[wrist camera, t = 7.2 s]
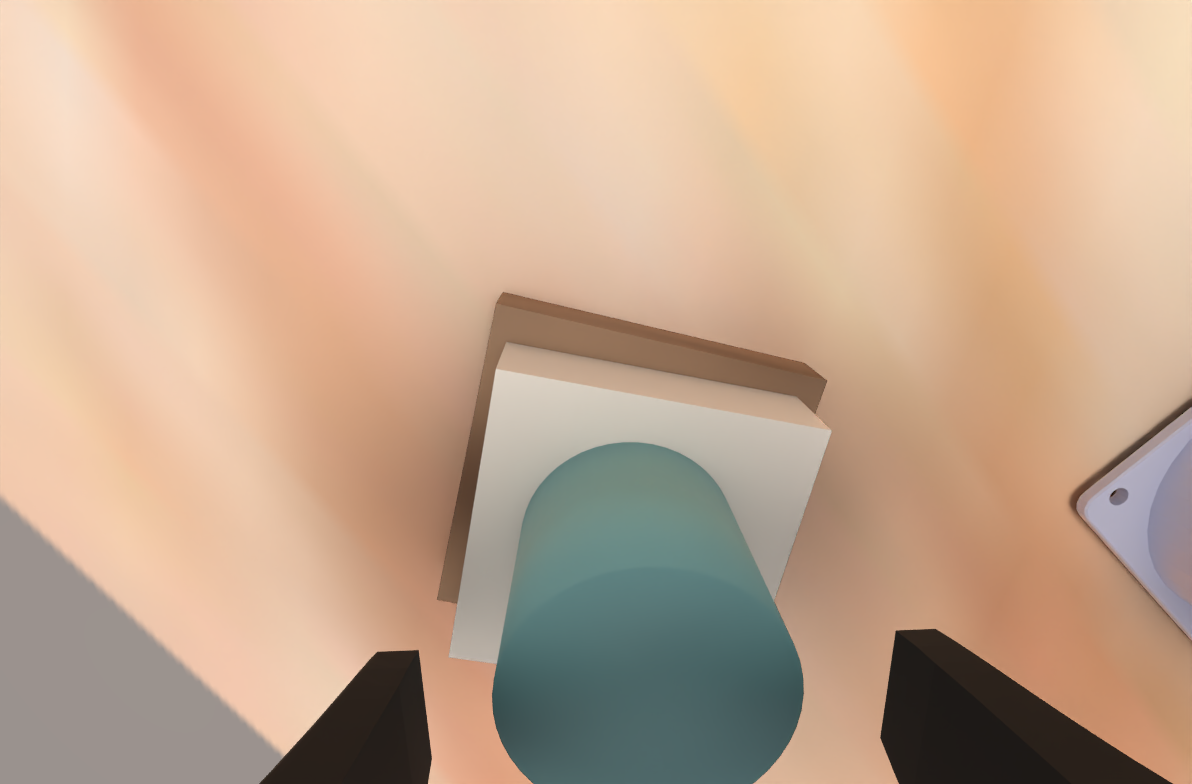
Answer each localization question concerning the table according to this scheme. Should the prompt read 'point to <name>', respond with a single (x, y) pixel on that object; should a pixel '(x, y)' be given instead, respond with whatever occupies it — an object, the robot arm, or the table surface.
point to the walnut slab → (614, 344)
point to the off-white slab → (614, 415)
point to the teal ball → (641, 631)
